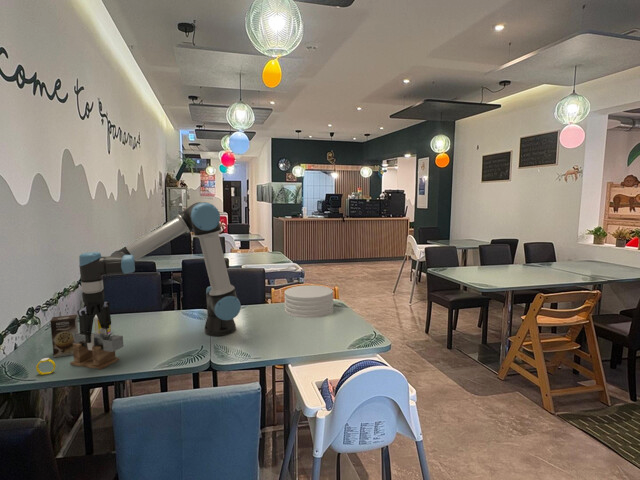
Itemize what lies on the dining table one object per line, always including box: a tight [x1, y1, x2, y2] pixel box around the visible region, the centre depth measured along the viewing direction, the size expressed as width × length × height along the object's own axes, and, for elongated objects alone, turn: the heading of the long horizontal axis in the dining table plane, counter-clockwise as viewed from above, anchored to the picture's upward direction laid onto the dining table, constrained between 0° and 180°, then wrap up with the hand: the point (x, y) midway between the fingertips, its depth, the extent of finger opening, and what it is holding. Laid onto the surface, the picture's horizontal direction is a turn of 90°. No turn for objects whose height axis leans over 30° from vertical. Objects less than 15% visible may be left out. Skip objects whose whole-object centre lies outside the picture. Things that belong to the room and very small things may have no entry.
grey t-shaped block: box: [74, 332, 124, 352], centre depth 157 cm, size 20×6×4 cm, turn 73°
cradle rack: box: [70, 343, 121, 370], centre depth 159 cm, size 16×9×8 cm, turn 73°
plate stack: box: [284, 284, 334, 319], centre depth 225 cm, size 28×28×12 cm
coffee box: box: [49, 314, 79, 358], centre depth 168 cm, size 9×6×16 cm
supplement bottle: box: [93, 314, 112, 336], centre depth 190 cm, size 7×7×13 cm
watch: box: [35, 357, 57, 376], centre depth 149 cm, size 6×3×6 cm, turn 108°
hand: (97, 346), depth 158 cm, fingers open, 5 cm apart
